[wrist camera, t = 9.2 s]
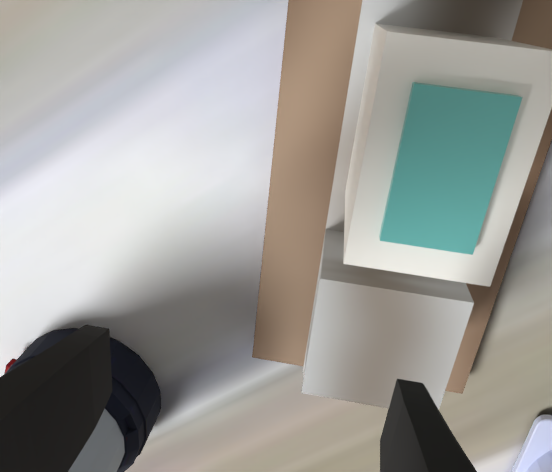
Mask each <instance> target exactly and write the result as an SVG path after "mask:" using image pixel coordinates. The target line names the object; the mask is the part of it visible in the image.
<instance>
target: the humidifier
mask: <svg viewBox="0 0 552 472" xmlns="http://www.w3.org/2000/svg"><path fill="white" fill-rule="evenodd" d="M77 330H78V329H76V328H71V329H63V330H55V331H51V332H49V333H47V334H45V335H43V336H41V337H39V338H38V339H36V340H35V341H34V342H33V343H32V344H31V345H30V346H29V347H28V348H27V349H26V350H25V352H24V353H23V354H22V355H21V356H20V357H19V358H18V359H17V360H16V359H12V360H11V361H10V362H9V363H8V364H7V365H6V369H5V374H7V373H8V372H10V371H12V370H14V369H15V368H17V367H18V366H20V365H22V364H23V363H25V362H27V361H28V360H30V359H32V358H33V357H35V356H36V355H38V354H40V353H41V352H43V351H45V350H46V349H48V348H49V347H51V346H53V345H54V344H56V343H57V342H59V341H60V340H62V339H64V338H65V337H67V336H68V335H70V334H72V333H73V332H75V331H77ZM109 338H110V337H109ZM110 355H111V373H112V393H111V395H110V398H109V400H108V402H107V404H106V407H105V409H104V411H103V413H102V415H101V417H100V419H99V421H98V423H97V425H96V428H95V429H94V431H93V433H92V434H91V436H90V438H89V439H88V441H87V442H86V444H85V446H84V447H83V449H82V450H81V452H80V454H79V455H78V457H77V458H76V460H75V462H74V463H73V465H72V466H71V468H70V469H69V471H68V472H124V471H126V470H127V469H128V468H129V467H130V466H131V465H132V464H133V463H134V461H135V459H136V457H137V456H138V455H140V453H141V451H142V449H143V447H144V445H145V443H146V441H147V438H148V436H149V434H150V432H151V430H152V428H153V426H154V424H155V421H156V419H157V416H158V414H159V412H160V409H161V395H160V389H159V387H158V384H157V382H156V379H155V377H154V374H153V372H152V371H151V370H150V369H149V368H148V366H147V365H146V364H145V363H144V361H143V360H142V359H141V358H140V357H139V355H137V354H136V353H135V352H133V351H132V350H130V349H129V348H128V347H126V346H125V345H124V344H122V343H121V342H120V341H117V340H115V339H113V338H110ZM5 374H4V375H5Z"/></svg>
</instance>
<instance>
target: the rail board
mask: <svg viewBox="0 0 552 472" xmlns="http://www.w3.org/2000/svg"><path fill="white" fill-rule="evenodd" d="M375 23H376V24H385V25H393V26H402V27H410V28H419V29H427V30H436V31H444V32H452V33H461V34H469V35H478V36H486V37H495V38H500V39H505V40H510V41H515V42H519V43H524V44H529V45H533V46H538V47H543V48H547V49H552V0H289V2H288V12H287V22H286V31H285V41H284V51H283V61H282V71H281V80H280V90H279V100H278V110H277V120H276V129H275V139H274V149H273V159H272V168H271V178H270V188H269V198H268V208H267V217H266V227H265V237H264V247H263V257H262V266H261V276H260V286H259V296H258V306H257V315H256V325H255V335H254V345H253V354H252V357H253V358H259V359H265V360H271V361H277V362H282V363H288V364H294V365H300V366H303V373H304V377H303V385H302V393H304V394H310V395H316V396H321V397H327V398H332V399H338V400H344V401H349V402H355V403H361V404H366V405H372V406H378V407H383V408H389V406H390V402H391V399H392V395H393V391H394V388H395V384H396V380H397V379H403V380H408V381H414V382H420V383H423V384H424V385H425V387H426V388H427V390H428V392H429V394H430V396H431V397H432V399H433V401H434V403H435V405H436V406H437V408H438V410H439V408H440V405H441V402H442V399H443V396H444V393H445V391H450V392H456V393H463V390H464V388H465V385H466V382H467V379H468V376H469V373H470V371H471V368H472V365H473V362H474V359H475V356H476V354H477V351H478V348H479V345H480V342H481V339H482V337H483V334H484V331H485V328H486V325H487V322H488V319H489V317H490V314H491V311H492V308H493V305H494V302H495V300H496V297H497V294H498V291H499V288H500V285H501V283H502V280H503V277H504V274H505V271H506V268H507V266H508V263H509V260H510V257H511V254H512V251H513V248H514V246H515V243H516V240H517V237H518V234H519V231H520V229H521V226H522V223H523V220H524V217H525V214H526V212H527V209H528V206H529V203H530V200H531V197H532V195H533V192H534V189H535V186H536V183H537V180H538V177H539V175H540V172H541V169H542V166H543V163H544V160H545V158H546V155H547V152H548V149H549V146H550V143H551V141H552V108H551V111H550V114H549V117H548V120H547V123H546V126H545V129H544V132H543V135H542V137H541V140H540V143H539V146H538V149H537V152H536V155H535V158H534V161H533V164H532V166H531V169H530V172H529V175H528V178H527V181H526V184H525V187H524V190H523V193H522V195H521V198H520V201H519V204H518V207H517V210H516V213H515V216H514V219H513V222H512V225H511V227H510V230H509V233H508V236H507V239H506V242H505V245H504V248H503V251H502V254H501V256H500V259H499V262H498V265H497V268H496V271H495V274H494V277H493V280H492V283H491V285H490V287H488V286H482V285H475V284H469V283H463V282H456V281H450V280H444V279H437V278H431V277H425V276H418V275H412V274H405V273H399V272H393V271H386V270H380V269H374V268H367V267H361V266H355V265H348V264H343V258H344V222H345V190H346V184H347V179H348V173H349V167H350V162H351V156H352V150H353V145H354V139H355V133H356V128H357V122H358V116H359V111H360V105H361V99H362V94H363V88H364V82H365V77H366V71H367V65H368V60H369V54H370V48H371V43H372V37H373V31H374V26H375Z"/></svg>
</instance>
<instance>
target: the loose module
mask: <svg viewBox="0 0 552 472" xmlns="http://www.w3.org/2000/svg"><path fill="white" fill-rule="evenodd" d="M551 108H552V49H547V48H543V47H538V46H533V45H529V44H524V43H519V42H515V41H510V40H505V39H500V38H495V37H486V36H478V35H469V34H461V33H452V32H444V31H436V30H427V29H419V28H410V27H402V26H393V25H385V24H376V23H375V26H374V31H373V37H372V43H371V48H370V54H369V60H368V65H367V71H366V77H365V82H364V88H363V94H362V99H361V105H360V111H359V116H358V122H357V128H356V133H355V139H354V145H353V150H352V156H351V162H350V167H349V173H348V179H347V184H346V190H345V222H344V258H343V264H348V265H355V266H361V267H367V268H374V269H380V270H386V271H393V272H399V273H405V274H412V275H418V276H425V277H431V278H437V279H444V280H450V281H456V282H463V283H469V284H475V285H482V286H488V287H490V285H491V283H492V280H493V277H494V274H495V271H496V268H497V265H498V262H499V259H500V256H501V254H502V251H503V248H504V245H505V242H506V239H507V236H508V233H509V230H510V227H511V225H512V222H513V219H514V216H515V213H516V210H517V207H518V204H519V201H520V198H521V195H522V193H523V190H524V187H525V184H526V181H527V178H528V175H529V172H530V169H531V166H532V164H533V161H534V158H535V155H536V152H537V149H538V146H539V143H540V140H541V137H542V135H543V132H544V129H545V126H546V123H547V120H548V117H549V114H550V111H551Z"/></svg>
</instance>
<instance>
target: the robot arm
mask: <svg viewBox="0 0 552 472" xmlns="http://www.w3.org/2000/svg"><path fill="white" fill-rule="evenodd" d="M111 393H112V373H111V355H110V338H109V329H107V328H101V327H95V326H89V325H85V326H83V327H82V328H80V329H78V330H77V331H75V332H73V333H72V334H70V335H68V336H67V337H65V338H64V339H62V340H60V341H59V342H57V343H56V344H54V345H53V346H51V347H49V348H48V349H46V350H45V351H43V352H41V353H40V354H38V355H36V356H35V357H33V358H32V359H30V360H28V361H27V362H25V363H23V364H22V365H20V366H18V367H17V368H15V369H14V370H12V371H10V372H8V373H7V374H5V375H3V376H1V377H0V472H68V471H69V469H70V468H71V466H72V465H73V463H74V462H75V460H76V458H77V457H78V455H79V454H80V452H81V450H82V449H83V447H84V446H85V444H86V442H87V441H88V439H89V438H90V436H91V434H92V433H93V431H94V429H95V428H96V425H97V423H98V421H99V419H100V417H101V415H102V413H103V411H104V409H105V407H106V404H107V402H108V400H109V398H110V395H111ZM380 472H477V471H476V470H475V468H474V467H473V465H472V464H471V462H470V460H469V459H468V457H467V456H466V454H465V453H464V451H463V450H462V448H461V446H460V445H459V443H458V442H457V440H456V439H455V437H454V435H453V434H452V432H451V430H450V429H449V427H448V425H447V424H446V422H445V420H444V419H443V417H442V415H441V413H440V412H439V410H438V408H437V406H436V405H435V403H434V401H433V399H432V397H431V396H430V394H429V392H428V390H427V388H426V387H425V385H424V384H423V383H420V382H414V381H408V380H403V379H397V380H396V384H395V388H394V391H393V395H392V399H391V402H390V406H389V410H388V413H387V417H386V421H385V425H384V428H383V432H382V436H381V439H380ZM511 472H552V415H540V416H538V417H537V418H536V419H535V420H534V422H533V425H532V427H531V429H530V431H529V433H528V436H527V438H526V440H525V442H524V445H523V447H522V449H521V451H520V453H519V456H518V458H517V460H516V462H515V465H514V467H513V469H512V471H511Z"/></svg>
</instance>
